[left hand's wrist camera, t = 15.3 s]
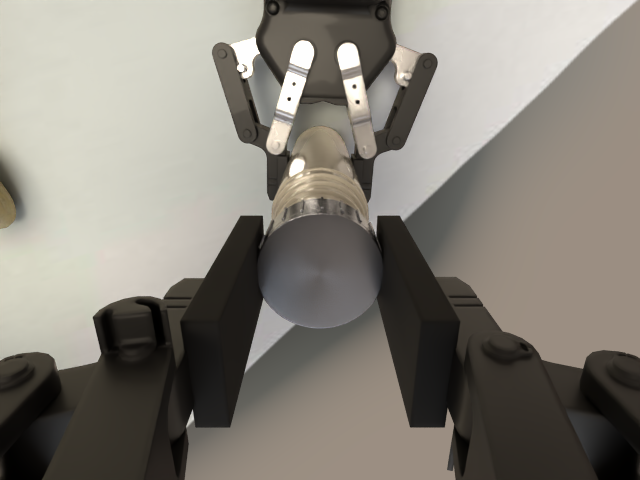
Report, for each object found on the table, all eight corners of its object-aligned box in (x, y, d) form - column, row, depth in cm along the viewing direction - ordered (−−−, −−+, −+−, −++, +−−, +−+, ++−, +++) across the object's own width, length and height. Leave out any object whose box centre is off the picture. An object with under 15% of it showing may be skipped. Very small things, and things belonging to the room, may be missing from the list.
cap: (251, 204, 14) (242, 220, 12) (374, 189, 13) (381, 203, 12) (271, 309, 15) (266, 335, 14) (382, 297, 15) (389, 322, 13)
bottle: (290, 128, 33) (242, 211, 12) (344, 123, 33) (384, 197, 12) (297, 181, 34) (263, 331, 14) (348, 176, 34) (389, 320, 14)
